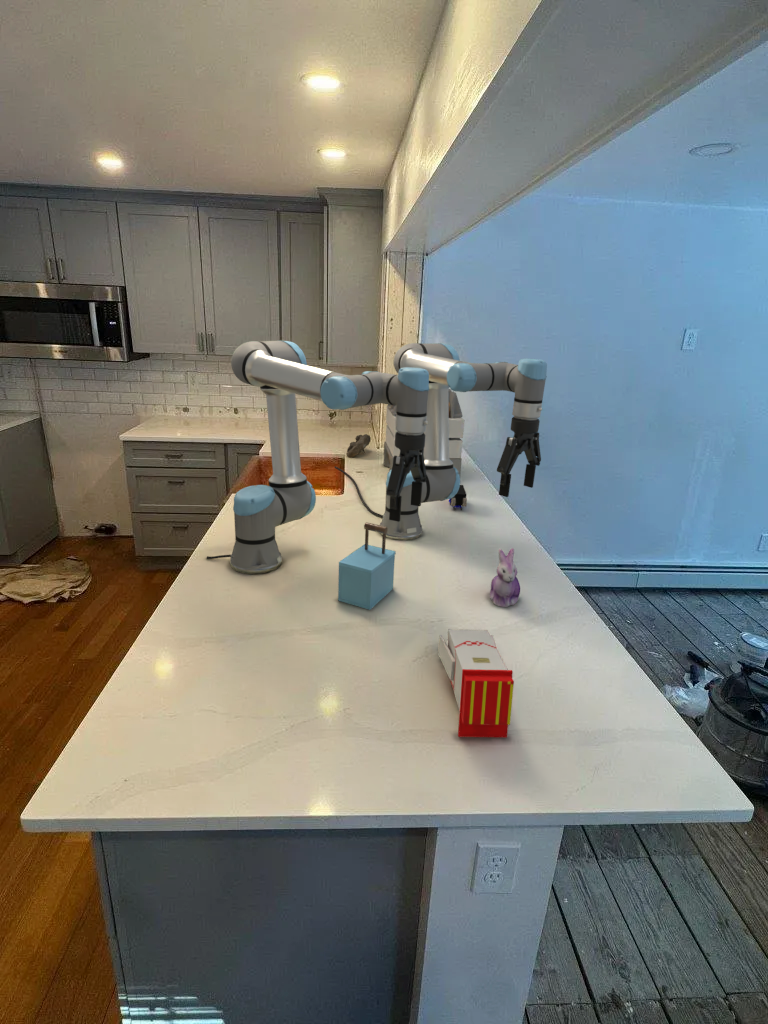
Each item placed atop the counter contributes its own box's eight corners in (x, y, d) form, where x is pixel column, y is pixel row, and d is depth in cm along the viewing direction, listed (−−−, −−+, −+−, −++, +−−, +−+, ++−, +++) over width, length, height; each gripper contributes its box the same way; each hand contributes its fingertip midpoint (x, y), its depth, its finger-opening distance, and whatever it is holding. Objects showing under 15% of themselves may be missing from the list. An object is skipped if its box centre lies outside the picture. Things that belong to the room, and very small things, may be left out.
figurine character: (467, 515, 225) (461, 499, 238) (469, 498, 221) (463, 482, 235) (450, 514, 224) (445, 498, 238) (452, 497, 221) (447, 482, 234)
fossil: (346, 440, 316) (367, 425, 311) (357, 453, 319) (378, 438, 314) (340, 453, 296) (362, 438, 291) (351, 468, 299) (374, 452, 294)
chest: (362, 580, 165) (363, 547, 161) (393, 589, 161) (394, 554, 157) (338, 600, 153) (338, 565, 149) (369, 610, 149) (371, 573, 145)
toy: (488, 613, 130) (523, 677, 101) (484, 667, 133) (517, 744, 104) (435, 612, 130) (455, 676, 101) (432, 666, 133) (451, 743, 103)
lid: (364, 546, 161) (365, 517, 158) (395, 554, 157) (397, 524, 154) (338, 564, 149) (339, 533, 146) (371, 573, 145) (372, 541, 142)
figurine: (502, 611, 151) (509, 560, 146) (479, 594, 159) (485, 545, 154) (530, 604, 155) (537, 554, 150) (506, 588, 163) (512, 540, 158)
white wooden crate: (382, 463, 289) (386, 382, 275) (445, 464, 293) (451, 384, 279) (390, 482, 257) (394, 392, 243) (460, 483, 261) (468, 394, 247)
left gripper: (403, 443, 129) (398, 530, 136) (442, 426, 150) (436, 501, 157) (374, 439, 131) (371, 524, 139) (415, 422, 153) (411, 497, 160)
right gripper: (514, 425, 144) (504, 503, 152) (559, 414, 162) (548, 485, 169) (489, 420, 149) (480, 496, 157) (536, 410, 167) (526, 480, 174)
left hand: (405, 512), depth 148 cm, fingers open, 13 cm apart
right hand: (516, 491), depth 163 cm, fingers open, 13 cm apart
